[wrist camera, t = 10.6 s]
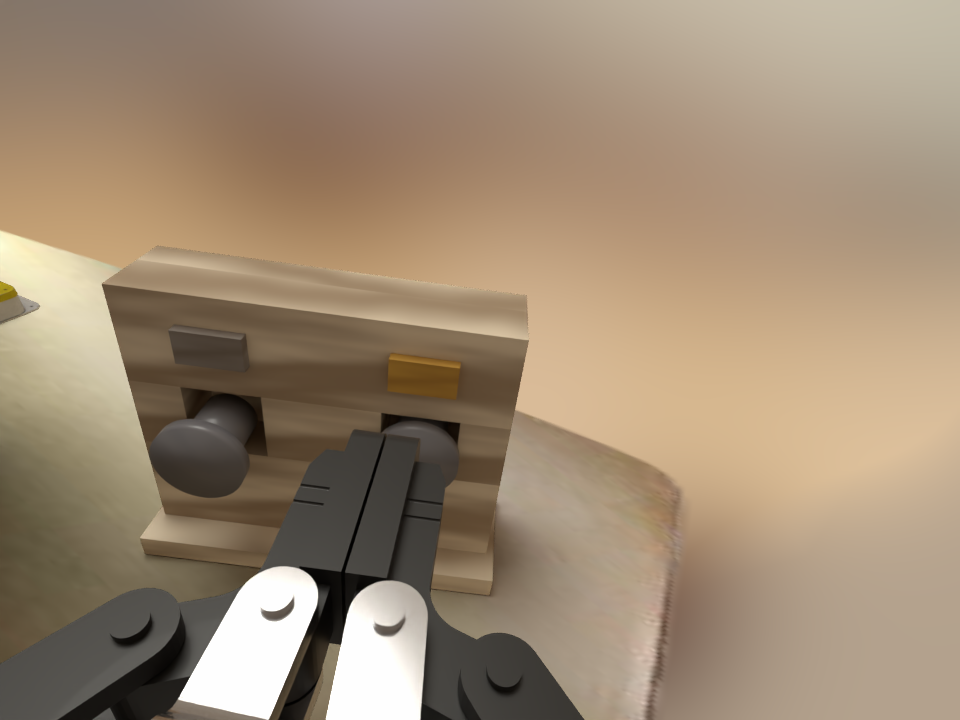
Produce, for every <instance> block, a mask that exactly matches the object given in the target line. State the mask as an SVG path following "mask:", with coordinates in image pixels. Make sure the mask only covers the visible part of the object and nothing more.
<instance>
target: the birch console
mask: <svg viewBox="0 0 960 720" xmlns="http://www.w3.org/2000/svg"><path fill="white" fill-rule="evenodd" d="M102 287H103V290H104V294H105V298H106V301H107V305H108V308H109V312H110V316H111V319H112V323H113V327H114V330H115V334H116V337H117V341H118V345H119V348H120V352H121V356H122V359H123V363H124V367H125V370H126V374H127V377H128V381H129V385H130V388H131V392H132V396H133V399H134V403H135V407H136V410H137V414H138V417H139V421H140V425H141V428H142V432H143V436H144V439H145V443H146V447H147V450H148V454H149V449H150V445H151V443H152V442H153V440H154V439H155V438H156V436H157V435H158V434H159V433H160V432H161V430H162V429H163V428H164V427H165V426H166V425H168V424H170V423H172V422H174V421H177V420H183V419H194V418H195V417H196V415H197V414H198V413H199V411H200V410H201V409H202V407H203V406H204V405H205V404H206V402H207V401H208V400H209V399H210V398H211V397H212V396H214V395H217V394H223V393H226V394H233V395H236V396H239V397H241V398H243V399H244V400H246V401H247V402H248V403H249V404H251V406H252V407H253V408H254V409H255V411H256V414H257V417H258V422H257V425H256V427H255V429H254V430H253V432H252V434H251V435H250V437H249V438H248V440H247V442H246V443H245V445H244V447H245V449H246V451H247V453H248V455H249V459H250V468H249V471H248V473H247V475H246V477H245V479H244V480H243V482H242V484H241V486H240V487H239V488H238V489H237V490H236V491H235V492H234V493H232V494H230V495H227V496H224V497H219V498H203V497H198V496H194V495H190V494H187V493H185V492H182V491H180V490H178V489H176V488H175V487H173V486H172V485H170V484H169V483H167V482H166V481H165V480H164V479H163V478H162V477H161V476H160V475H159V474H158V473H157V472H156V470H155V469H154V467H153V465H152V463H151V465H152V468H153V472H154V476H155V479H156V483H157V487H158V490H159V494H160V497H161V501H162V505H163V506H162V507H161V509H160V510H159V511H158V513H157V514H156V516H155V517H154V519H153V520H152V521H151V523H150V524H149V526H148V527H147V529H146V530H145V531H144V533H143V534H142V536H141V537H140V540H141V543H142V546H143V549H144V553H145V554H152V555H160V556H168V557H176V558H185V559H193V560H201V561H209V562H218V563H226V564H234V565H242V566H251V567H259V568H261V567H262V566H263V564H264V562H265V560H266V558H267V556H268V554H269V552H270V549H271V547H272V545H273V543H274V541H275V538H276V536H277V534H278V532H279V530H280V527H281V525H282V523H283V521H284V519H285V516H286V514H287V512H288V510H289V508H290V505H291V503H293V499H294V497H295V495H296V492H297V490H298V488H299V487H300V485H301V481H302V479H303V477H304V475H305V473H306V470H307V468H308V466H309V464H310V463H311V462H312V461H313V460H315V459H316V458H317V457H318V456H319V455H320V454H321V453H322V452H323V451H325V450H326V449H330V450H338V451H345V448H346V446H347V443H348V441H349V438H350V436H351V433H352V431H353V430H354V429H358V430H365V431H372V432H379V433H382V432H383V431H384V430H385V429H386V428H388V427H389V426H391V425H393V424H396V423H398V421H399V417H400V415H402V416H409V417H417V418H425V419H433V420H440V421H448V422H449V425H448V432H447V433H448V434H449V435H450V436H451V437H452V438H453V439H454V441H455V442H456V444H457V446H458V449H459V455H460V456H459V466H458V472H457V475H456V477H455V479H454V480H453V482H452V483H451V484H450V485H449V486H447V487H446V488H445V496H444V503H443V511H442V519H441V527H440V534H439V540H438V546H437V553H436V559H435V565H434V572H433V579H432V585H431V588H432V589H440V590H448V591H456V592H465V593H473V594H481V595H490V591H491V586H492V582H493V556H494V529H495V506H496V501H497V496H498V491H499V486H500V481H501V476H502V471H503V466H504V461H505V456H506V451H507V446H508V441H509V436H510V431H511V426H512V421H513V417H514V412H515V407H516V402H517V397H518V392H519V387H520V381H521V377H522V371H523V367H524V362H525V356H526V352H527V347H528V342H529V336H528V313H527V296H526V295H519V294H512V293H504V292H497V291H488V290H482V289H474V288H467V287H459V286H452V285H445V284H437V283H430V282H423V281H415V280H407V279H400V278H392V277H385V276H378V275H371V274H363V273H356V272H348V271H341V270H333V269H326V268H318V267H311V266H303V265H296V264H289V263H282V262H274V261H267V260H259V259H252V258H244V257H237V256H230V255H221V254H215V253H207V252H200V251H192V250H185V249H178V248H170V247H163V246H156V247H155V248H153V249H152V250H150V251H149V252H148V253H146V254H144V255H143V256H141V257H140V258H139V259H137V260H136V261H134V262H133V263H131V264H130V265H128V266H127V267H125V268H124V269H122V270H121V271H120V272H118V273H117V274H115V275H114V276H112V277H111V278H109V279H108V280H106V281H105V282H103V283H102ZM149 457H150V456H149Z"/></svg>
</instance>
